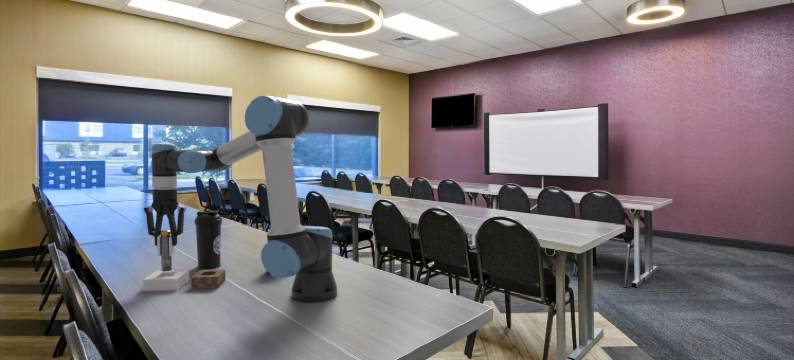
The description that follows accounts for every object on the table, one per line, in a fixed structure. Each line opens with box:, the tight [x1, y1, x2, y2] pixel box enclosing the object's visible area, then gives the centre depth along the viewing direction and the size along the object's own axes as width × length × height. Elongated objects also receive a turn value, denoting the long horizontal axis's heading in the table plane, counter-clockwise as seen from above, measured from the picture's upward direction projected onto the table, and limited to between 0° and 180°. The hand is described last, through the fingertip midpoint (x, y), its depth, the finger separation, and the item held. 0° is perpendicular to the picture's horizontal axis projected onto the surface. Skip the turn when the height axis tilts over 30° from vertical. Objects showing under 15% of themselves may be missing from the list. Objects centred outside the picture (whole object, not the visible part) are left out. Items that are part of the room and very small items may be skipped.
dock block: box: [142, 269, 190, 292], centre depth 148 cm, size 11×11×4 cm
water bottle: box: [194, 210, 223, 270], centre depth 172 cm, size 10×10×23 cm
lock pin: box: [160, 229, 173, 271], centre depth 147 cm, size 3×3×14 cm
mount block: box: [190, 269, 226, 290], centre depth 150 cm, size 9×9×4 cm
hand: (166, 254), depth 147 cm, fingers closed on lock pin, 3 cm apart
